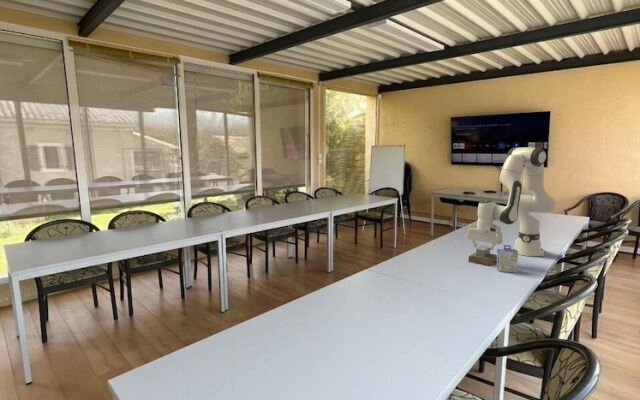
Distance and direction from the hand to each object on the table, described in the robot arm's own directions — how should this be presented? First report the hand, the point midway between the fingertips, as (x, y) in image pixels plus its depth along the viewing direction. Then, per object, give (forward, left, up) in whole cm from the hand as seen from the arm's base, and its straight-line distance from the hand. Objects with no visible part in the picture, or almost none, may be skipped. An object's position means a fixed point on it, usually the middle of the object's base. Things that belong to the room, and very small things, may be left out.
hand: (483, 248), depth 214 cm
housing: (0, 0, -4) cm, 4 cm away
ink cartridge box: (+8, +16, -8) cm, 20 cm away
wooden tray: (0, 0, -8) cm, 8 cm away
